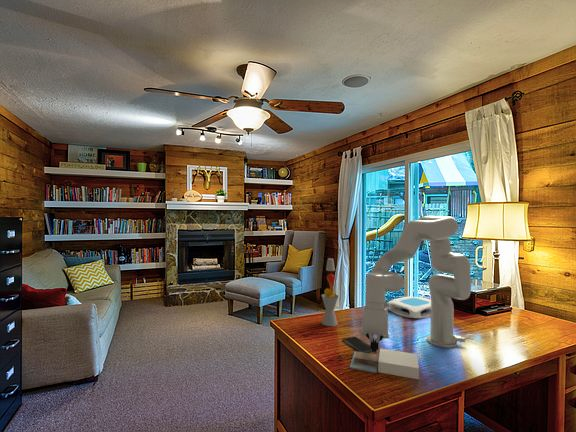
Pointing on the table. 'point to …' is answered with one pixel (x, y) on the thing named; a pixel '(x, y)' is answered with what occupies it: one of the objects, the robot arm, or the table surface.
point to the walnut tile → (366, 359)
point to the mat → (362, 366)
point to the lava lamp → (330, 297)
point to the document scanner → (411, 306)
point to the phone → (357, 344)
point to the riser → (398, 363)
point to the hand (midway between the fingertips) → (374, 351)
